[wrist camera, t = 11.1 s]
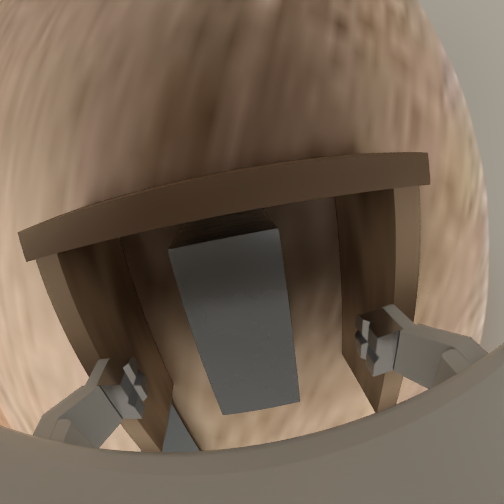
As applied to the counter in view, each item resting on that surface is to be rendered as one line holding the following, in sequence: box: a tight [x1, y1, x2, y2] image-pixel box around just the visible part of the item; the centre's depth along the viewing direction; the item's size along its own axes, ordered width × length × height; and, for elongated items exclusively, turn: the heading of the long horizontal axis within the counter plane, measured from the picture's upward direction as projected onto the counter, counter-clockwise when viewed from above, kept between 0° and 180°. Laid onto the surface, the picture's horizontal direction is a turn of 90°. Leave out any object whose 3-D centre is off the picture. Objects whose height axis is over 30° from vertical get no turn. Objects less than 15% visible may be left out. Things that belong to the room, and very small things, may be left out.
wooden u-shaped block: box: [18, 152, 430, 452], centre depth 13 cm, size 13×16×6 cm
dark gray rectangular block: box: [168, 208, 300, 415], centre depth 13 cm, size 9×4×5 cm, turn 10°
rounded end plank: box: [141, 397, 200, 452], centre depth 17 cm, size 1×15×6 cm, turn 9°
